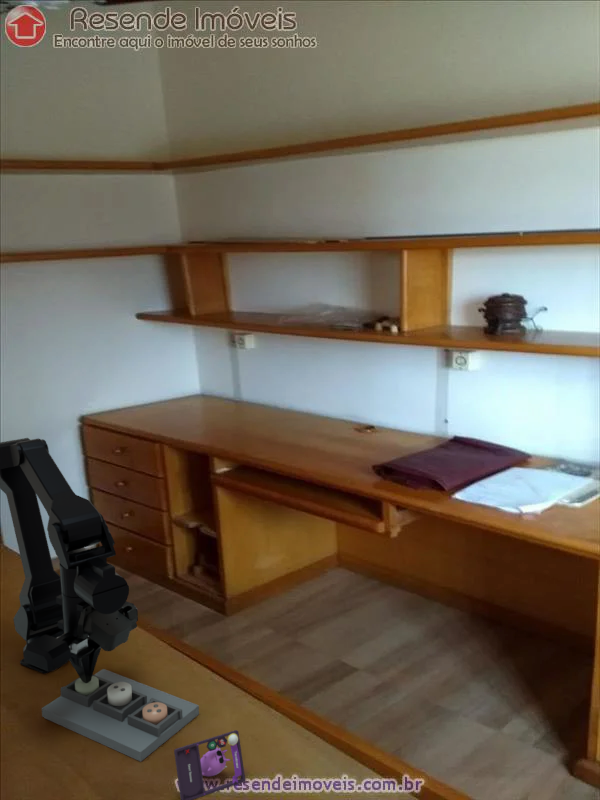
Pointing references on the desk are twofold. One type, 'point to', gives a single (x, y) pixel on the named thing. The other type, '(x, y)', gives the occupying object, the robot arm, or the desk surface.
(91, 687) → the sage button
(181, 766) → the game card
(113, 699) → the grey button
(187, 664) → the desk surface
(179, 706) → the button board
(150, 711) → the terracotta button
